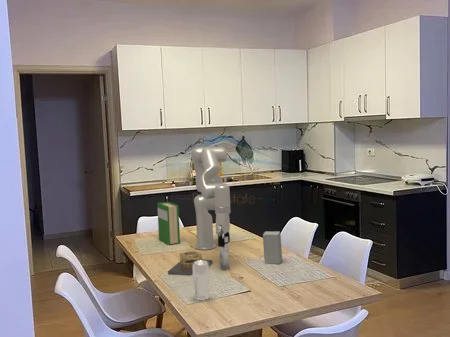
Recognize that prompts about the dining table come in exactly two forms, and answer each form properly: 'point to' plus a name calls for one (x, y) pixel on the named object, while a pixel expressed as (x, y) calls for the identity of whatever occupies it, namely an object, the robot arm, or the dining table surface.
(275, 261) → the skincare box
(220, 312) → the dining table surface
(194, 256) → the collar stand
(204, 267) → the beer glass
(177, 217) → the hardback book
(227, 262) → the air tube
